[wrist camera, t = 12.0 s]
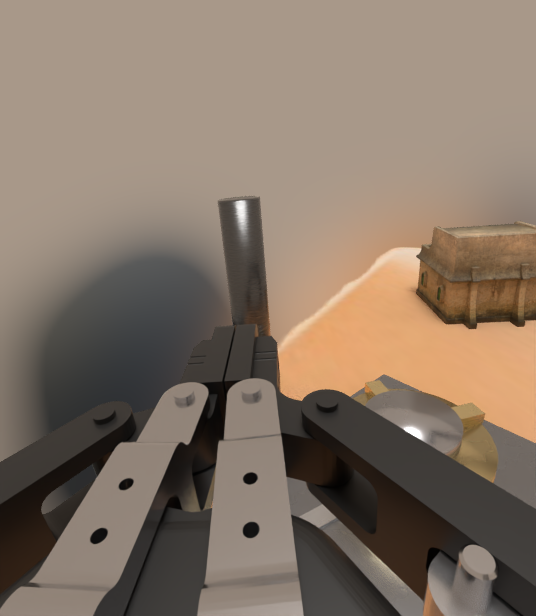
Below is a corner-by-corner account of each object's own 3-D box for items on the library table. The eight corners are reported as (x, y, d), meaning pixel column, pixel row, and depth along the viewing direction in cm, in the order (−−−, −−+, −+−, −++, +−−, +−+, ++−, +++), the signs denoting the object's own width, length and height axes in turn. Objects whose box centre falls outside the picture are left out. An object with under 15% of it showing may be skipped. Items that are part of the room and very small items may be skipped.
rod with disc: (493, 444, 27) (549, 185, 20) (484, 571, 19) (572, 218, 12) (275, 381, 36) (261, 190, 29) (210, 449, 28) (169, 210, 21)
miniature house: (564, 325, 46) (589, 233, 41) (448, 330, 46) (460, 241, 42) (498, 285, 59) (511, 213, 55) (410, 290, 60) (416, 219, 56)
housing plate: (370, 378, 38) (370, 366, 37) (584, 480, 25) (589, 465, 24) (214, 479, 27) (211, 465, 27) (446, 748, 14) (450, 731, 14)
